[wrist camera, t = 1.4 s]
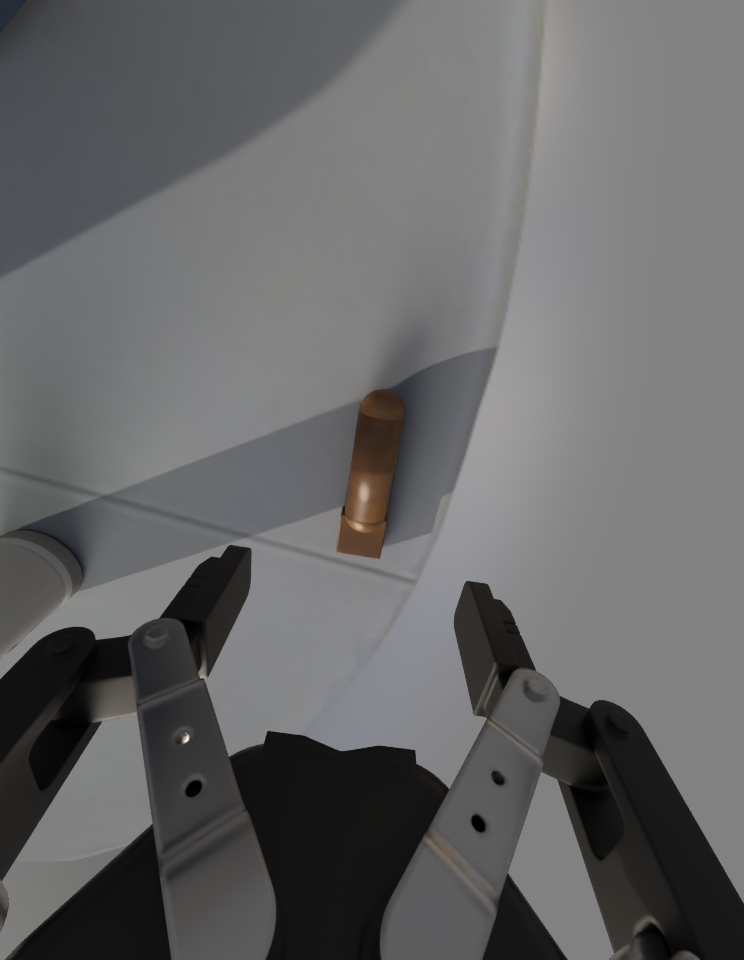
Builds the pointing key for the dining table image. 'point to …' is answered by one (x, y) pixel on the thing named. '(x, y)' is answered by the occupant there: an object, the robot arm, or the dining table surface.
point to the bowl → (8, 10)
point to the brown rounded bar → (371, 474)
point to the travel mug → (32, 583)
